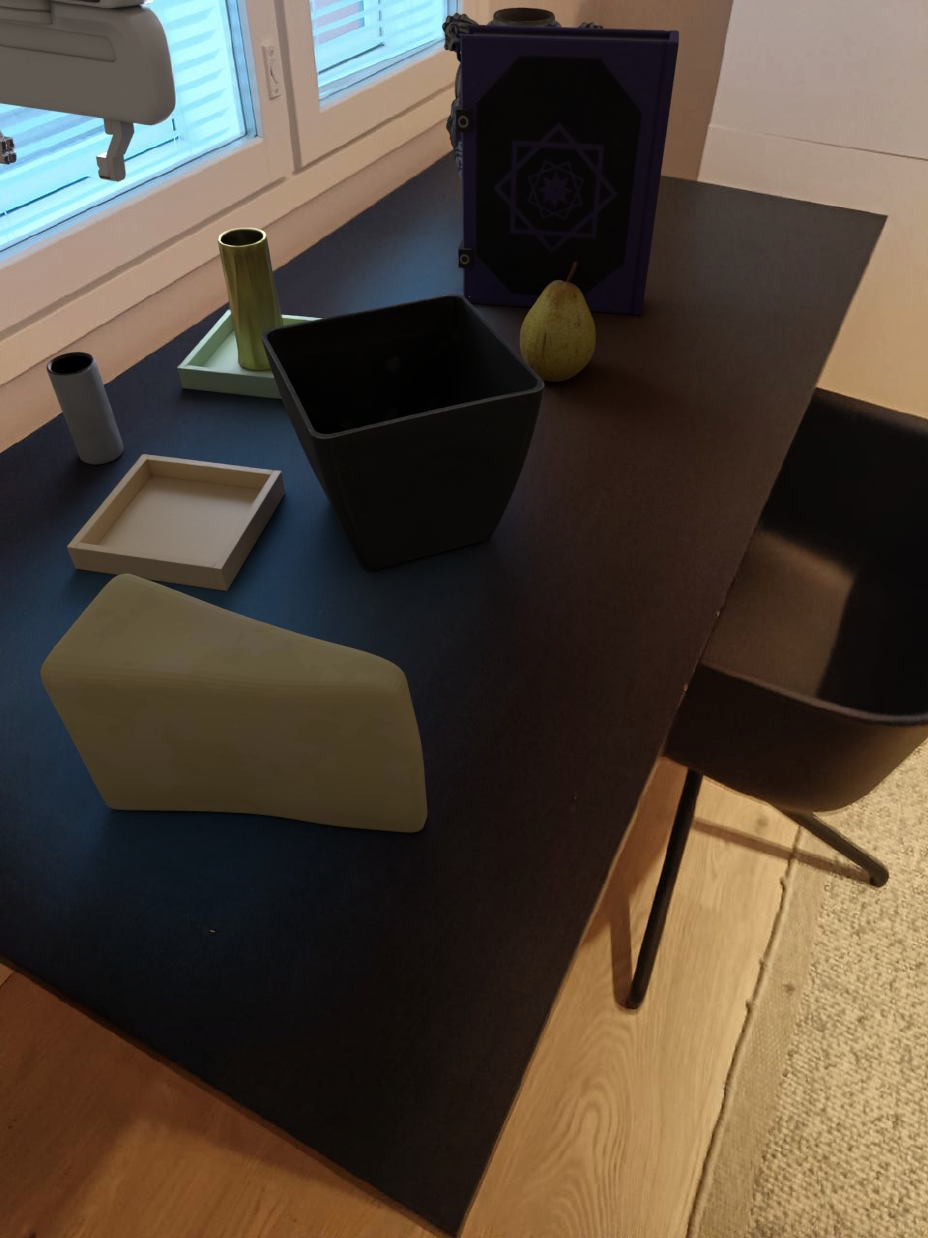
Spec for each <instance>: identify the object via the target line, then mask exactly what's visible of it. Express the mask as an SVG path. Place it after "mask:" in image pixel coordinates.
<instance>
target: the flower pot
mask: <svg viewBox="0 0 928 1238" xmlns="http://www.w3.org/2000/svg"><path fill="white" fill-rule="evenodd" d="M261 339H262V342H263V346H264V349H265V352H266V355H267V358H268V361H269V364H270V367H271V370H272V373H273V376H274V379H275V381H276V384H277V387H278V390H279V392H280V395H281V398H282V399H281V400H282V403H283V405H284V408H285V411H286V413H287V415H288V418H289V420H290V423H291V425H292V427H293V430H294V432H295V435H296V436H297V440H298V441H299V443H300V446H301V448H302V450H303V452H304V455H305V456H306V459H307V461H308V463H309V465H310V468H311V470H312V471H313V473H314V475H315V477H316V479H317V480H318V481H317V482H318V483H319V485H320V486H321V489H322V491H323V492H324V494H325V497H326V499H327V501H328V503H329V504H330V507H331V509H332V510H333V513H334V515H335V517H336V520H337V522H338V524H339V526H340V528H341V531H342V533H343V535H344V537H345V539H346V542H347V543H348V546H349V548H350V550H351V551H352V554H353V555H354V556H355V559H356V561H357V563H358V564H359V566H360V567H361V568H363V569H364V570H368V571H372V570H373V571H375V570H378V569H381V568H385V567H386V568H387V567H390V566H393V565H398V564H402V563H404V562H405V563H406V562H409V561H412V560H417V559H420V558H424V557H428V556H432V555H435V554H439V553H444V552H447V551H450V550H454V549H458V548H461V547H465V546H469V545H473V544H477V543H480V542H483V541H484V542H485V541H487V540H489V539H491V538H492V536H493V535H494V533H495V531H496V529H497V528H498V526H499V525H500V522H501V520H502V519H503V516H504V514H505V512H506V509H507V507H508V505H509V503H510V501H511V499H512V496H513V494H514V492H515V489H516V487H517V484H518V482H519V479H520V476H521V475H522V471H523V468H524V466H525V462H526V459H527V456H528V454H529V449H530V446H531V443H532V440H533V436H534V432H535V430H536V429H535V428H536V425H537V421H538V417H539V412H540V409H541V404H542V400H543V394H544V389H545V382H544V380H542V379H541V378H540V377H539V376H538V375H537V374H536V373H535V372H534V371H533V370H532V369H531V367H530V366H529V365H528V364H527V363H526V362H525V361H524V360H523V358H522V356H521V355H519V354H518V353H517V351H516V350H515V349H514V348H513V347H512V346H511V345H510V344H509V343H508V342H507V341H506V340H505V338H503V337H502V336H501V334H500V333H498V331H497V330H496V329H494V327H493V326H492V325H491V324H490V323H489V322H488V321H487V319H485V318H484V317H483V315H482V314H481V313H480V312H479V311H478V310H477V308H475V307H474V306H473V304H472V303H470V302H469V301H468V300H467V299H466V298H465V297H464V296H463V294H459V293H448V294H443V295H437V296H432V297H427V298H426V297H425V298H421V299H416V300H411V301H406V302H401V303H395V304H391V305H386V306H385V305H384V306H381V307H376V308H371V309H365V310H360V311H354V312H349V313H344V314H339V315H334V316H328V317H323V318H322V319H318V320H312V321H307V322H302V323H297V324H292V325H287V326H282V327H277V328H273V329H269V330H266V331H264V332H263V333H262V334H261Z"/></svg>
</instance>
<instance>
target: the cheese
mask: <svg viewBox="0 0 928 1238" xmlns="http://www.w3.org/2000/svg"><path fill="white" fill-rule="evenodd" d="M39 674H40V679H41V683H42V685H43V687H44V689H45V691H46V693H47V695H48V696H49V698H50V700H51V703H52V705H53V706H54V708H55V710H56V712H57V714H58V717H60V719H61V721H62V723H63V725H64V727H65V729H66V731H67V733H68V735H69V736H70V738H71V740H72V742H73V744H74V746H75V748H76V750H77V752H78V753H79V756H80V758H81V759H82V761H83V764H84V766H85V767H86V770H87V772H88V773H89V776H90V778H91V779H92V782H93V784H94V786H95V787H96V789H97V791H98V793H99V795H100V796H101V798H102V800H103V802H104V804H105V805H106V806H107V807H108V808H110V809H111V810H117V811H118V810H119V811H121V810H122V811H171V812H172V811H175V812H176V811H178V812H211V813H212V812H213V813H215V812H216V813H237V814H248V815H249V814H250V815H262V816H263V815H264V816H271V817H279V818H285V819H289V820H296V821H302V822H308V823H313V824H319V825H320V824H321V825H326V826H334V827H341V828H353V829H354V828H355V829H362V830H363V829H364V830H372V831H373V830H374V831H384V832H385V831H386V832H395V833H397V832H398V833H417V832H420V831H421V830H422V829H424V827H425V824H426V822H427V818H428V803H427V802H428V801H427V789H426V775H425V764H424V755H423V754H424V753H423V748H422V747H423V746H422V742H421V741H422V740H421V735H420V730H419V727H418V722H417V718H416V713H415V709H414V706H413V700H412V698H411V693H410V689H409V684H408V683H409V682H408V680H407V677H406V675H405V673H404V671H403V670H402V669H401V668H400V667H399V666H398V665H396V664H395V663H393V662H391V661H390V660H387V659H386V658H383V657H381V656H379V655H376V654H374V653H370V652H368V651H364V650H362V649H357V648H354V647H350V646H346V645H342V644H338V643H334V642H331V641H328V640H327V641H326V640H323V639H319V638H316V637H312V636H309V635H305V634H302V633H298V632H295V631H292V630H289V629H287V628H282V627H280V626H276V625H273V624H270V623H267V622H264V621H260V620H258V619H254V618H252V617H248V616H246V615H243V614H239V613H238V612H234V611H231V610H228V609H226V608H223V607H220V606H218V605H215V604H212V603H210V602H207V601H204V600H201V599H199V598H196V597H194V596H192V595H189V594H186V593H183V592H182V591H179V590H176V589H173V588H171V587H168V586H166V585H163V584H161V583H157V582H154V581H153V580H149V579H144V578H141V577H138V576H135V575H132V574H120V575H116V576H114V577H113V578H112V579H111V580H110V581H108V582H107V584H105V586H104V587H103V588H102V589H101V590H100V591H99V592H98V594H96V596H95V598H93V599H92V601H91V602H90V603H89V604H88V606H87V607H86V608H85V609H84V611H83V612H82V613H81V614H80V615H79V616H78V618H77V619H76V620H75V622H73V624H72V625H71V626H70V627H69V629H68V630H67V631H66V632H65V634H64V635H63V636H62V637H61V638H60V639H59V641H58V642H57V643H56V644H55V646H54V647H53V648H52V650H51V651H50V652H49V654H48V655H47V657H46V659H45V660H44V661H43V663H42V665H41V667H40V673H39Z"/></svg>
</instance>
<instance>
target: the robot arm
mask: <svg viewBox="0 0 928 1238" xmlns="http://www.w3.org/2000/svg"><path fill="white" fill-rule="evenodd" d="M153 1H154V0H0V104H2V105H7V106H8V105H9V106H15V107H22V108H29V109H34V110H42V111H48V112H49V111H50V112H55V113H56V112H57V113H62V114H63V113H64V114H69V115H75V116H82V117H89V118H96V119H102V120H103V126H104V133H105V134H106V135H109V136H112V137H111V139H110V143H109V145H108V148H107V151H106V152H102V153H101V154H98V155H96V156H95V161H96V165H97V167H98V168H99V169H98V172H97V173H98V174H97V175H98V177H99V179H100V180H104V181H110V182H116V183H118V182H121V181H124V180H125V179H126V175H127V172H126V164H125V163H126V162H125V155H126V153H127V150H128V149H129V147H130V145H131V144H130V143H131V142H132V139H133V137H134V135H135V125H134V124H137V125H143V126H156V125H159V124H161V123H164V122H166V121H168V120H169V119H170V118H171V117H172V115H173V113H174V112H175V109H176V107H177V92H176V83H175V75H174V69H173V68H174V67H173V63H172V56H171V51H170V47H169V42H168V37H167V34H166V30H165V28H164V25H163V23H162V21H161V20H160V18H159V16H158V15H157V14H156V12H154V10H152V9H151V8H150V7H149V6H146V4H150V3H152V2H153ZM15 145H16V144H15V140H14V137H12V136H11V137H10V136H5V135H4V133H3V132H2V130H1V129H0V165H8V166H9V165H11V164H15V163H16V162H17V159H18V156H17V152H16V151H15V148H16V146H15Z"/></svg>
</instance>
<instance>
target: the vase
mask: <svg viewBox="0 0 928 1238" xmlns="http://www.w3.org/2000/svg"><path fill="white" fill-rule="evenodd" d="M267 236H268V235H267V233H266V232H265V231H263V230H262V229H259V228H253V227H237V228H231V229H228V230H226V231H223V232H222V233H221V234H219V236H218V237H217V238H218V239H217V245H218V250H219V256H220V261H221V266H222V272H223V276H224V281H225V285H226V292H227V298H228V305H229V310H230V311H231V317H232V322H233V327H234V331H235V337H236V343H237V350H238V362H239V364H240V365H241V366H243V367H245V368H247V369H251V370H270V369H271V367H270V364H269V361H268V358H267V355H266V352H265V349H264V346H263V342H262V339H261V334H262V333H263V332H264V331H266V330H269V329H273V328H277V327H282V326H284V324H283V319H282V315H283V314H282V309H281V306H280V301H279V296H278V290H277V287H276V281H275V276H274V270H273V265H272V260H271V254H270V247H269V242H268V237H267Z"/></svg>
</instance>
